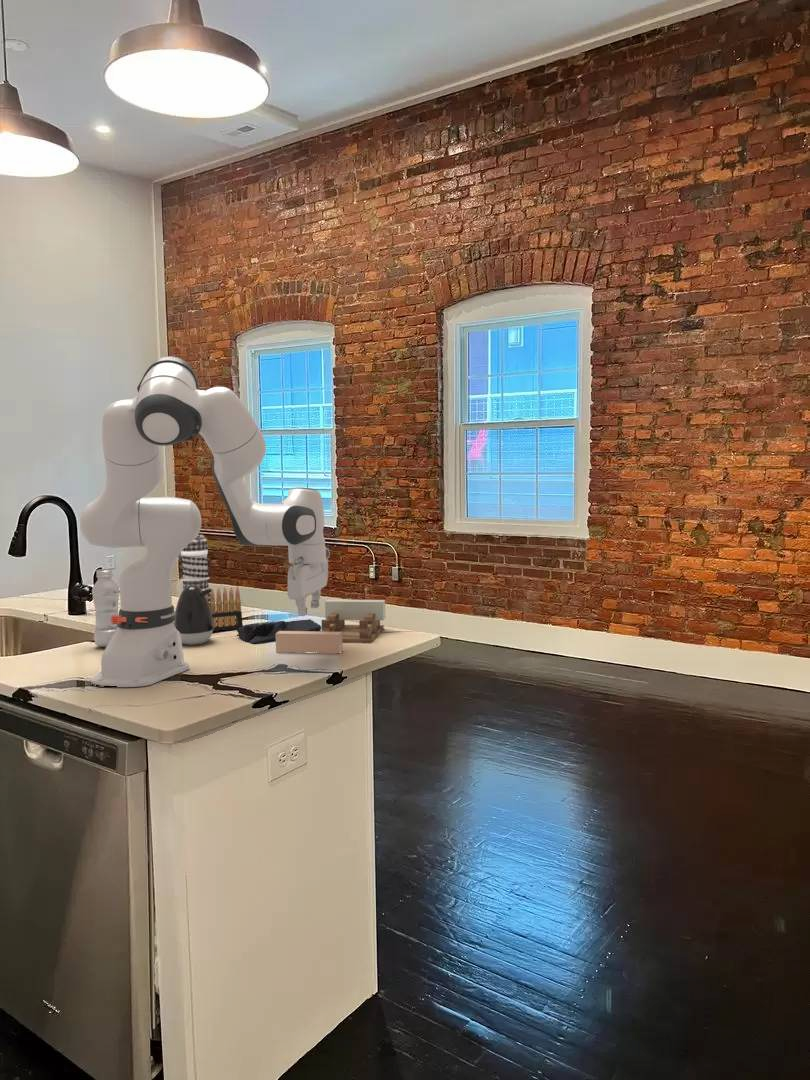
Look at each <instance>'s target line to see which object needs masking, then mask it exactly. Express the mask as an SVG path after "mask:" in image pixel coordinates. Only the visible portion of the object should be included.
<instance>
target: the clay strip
mask: <svg viewBox="0 0 810 1080" xmlns="http://www.w3.org/2000/svg"><path fill="white" fill-rule="evenodd" d="M275 635H276V641H275V653H276V652H287V653H286V654H289V653H288V652H299V653H298V654H301V653H300V652H315V653H316V652H317V653H340V652H341V651H342V650H343V651H344V648H343V647H344V646H343V645H344V644H343V643H344V642H343V641H342V632H322V631H318V632H317V631H279V632H277V633H276V634H275ZM343 651H342V652H343ZM342 652H341V653H342ZM341 653H340V654H341Z"/></svg>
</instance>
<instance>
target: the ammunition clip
mask: <svg viewBox="0 0 810 1080" xmlns="http://www.w3.org/2000/svg"><path fill="white" fill-rule="evenodd" d="M210 589H211V590H212V592H210V597H209V598H210V602H209V603H210V607H211V611H212V615H213V620H214V629H213V631H216V632H220V631H219V630H226V631H231V630H230V629H236V630H237V629H238V628H240V627H243V626H244V625H243V624H244V623H243V614H242V613H243V612H242V600H241V593H240V589H239V586H236V587H235V597H234V591H233V587H232V586H230V588H229V593H228V591H227V589H226V587H223V589H222V595H221V590H220V588H219V587H218V588H217V591H216V598H215V592H214V590H213V589H214V588H210ZM205 590H206V589H205ZM228 594H229V595H228ZM206 597H207V600H208V594H207V595H206ZM228 597H229V598H228Z"/></svg>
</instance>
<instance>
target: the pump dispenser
mask: <svg viewBox="0 0 810 1080" xmlns="http://www.w3.org/2000/svg"><path fill="white" fill-rule="evenodd" d="M211 589H212V588H211V587H209V589H206V590H203V591H202V589H201V588H200V587H198V586H196V585H190V586H187V587H186V588H184V589H183V588H182V591H181V593H180V595H179V597H178V600H177V604H176V606H175V609H174V611H175V621H174V622H173V623H174V625H175V627H176V629H177V630H178V631H179V632H180V635H181V642H182V645H187V646H198V644H199V645H202V644H206V643H207V642H208V641H209V640H210V639H211V638H212V636H213V629H214V620H213V615H212V611H211V607H210V605H209V603H210V602H208V600H207V597H206V595H207V594H208V593H210V592H212V590H211Z"/></svg>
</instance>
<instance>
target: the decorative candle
mask: <svg viewBox="0 0 810 1080" xmlns="http://www.w3.org/2000/svg"><path fill="white" fill-rule="evenodd" d="M207 541H208V539H207V538H206V536H205V535H203V534H198V535H197V537H196V538H195V539H194V540H193V541H192V542H190V543H189V544H188V545H187V546H186V547H185V548H184V549H183V550H182V551H181V553H180V554H179V556H178V558H179V559H178V562H180V564H179V568H180V571H179V573H180V574H181V575H182V576H180V577H181V578H180V579H181V581H182V587H183V588H182V590H183V589H184V588H186V587H187V586H190V585H196V586H198V587H200V588H201V589H202V591H203V590H205V589H209V588H210V587H209V584H210V583H209V580H210V578H211V574H209V573H210V572H211V570H210V569H209V568H208V567H210V566H211V563H210V560H211V558H210V557H208V554H209V549H208V545H207ZM208 602H209V605H210V593H208Z"/></svg>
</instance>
